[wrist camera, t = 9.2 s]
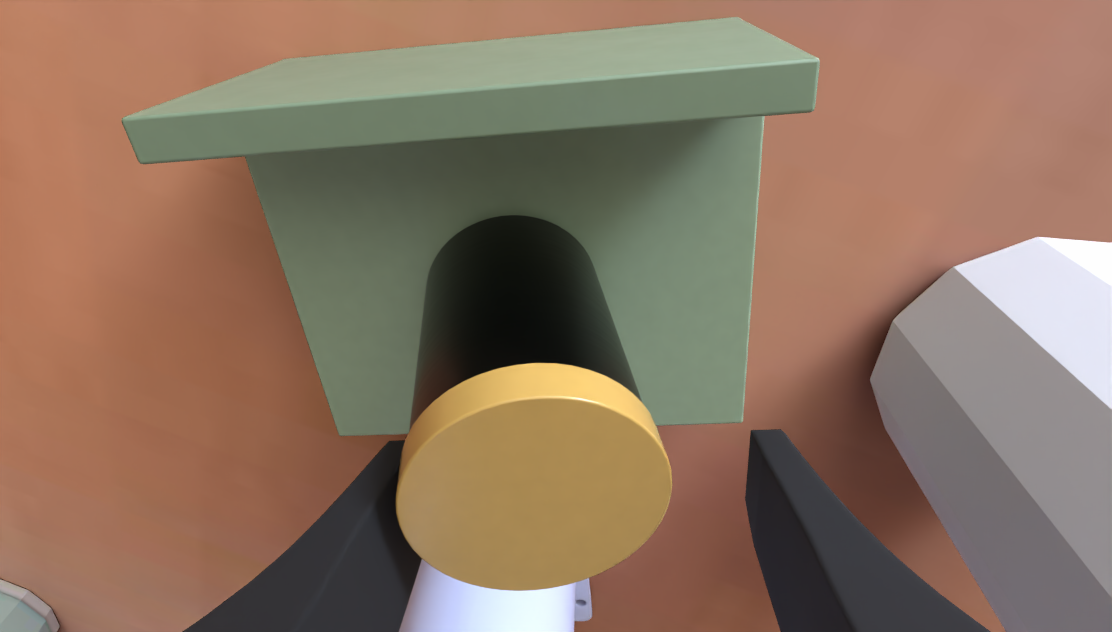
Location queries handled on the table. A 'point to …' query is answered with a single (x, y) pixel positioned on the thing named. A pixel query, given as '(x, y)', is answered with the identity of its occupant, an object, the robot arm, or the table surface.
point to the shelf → (510, 189)
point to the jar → (1014, 425)
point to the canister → (525, 417)
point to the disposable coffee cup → (24, 611)
